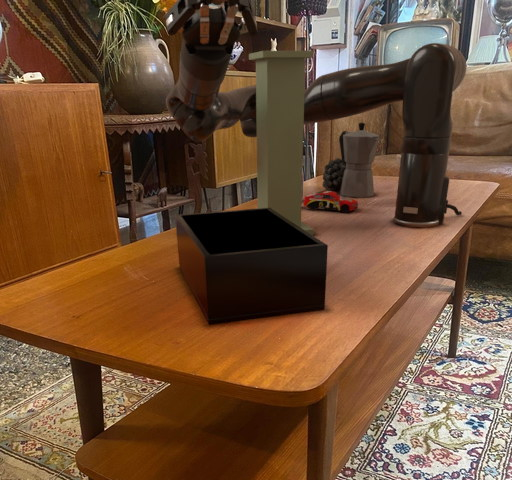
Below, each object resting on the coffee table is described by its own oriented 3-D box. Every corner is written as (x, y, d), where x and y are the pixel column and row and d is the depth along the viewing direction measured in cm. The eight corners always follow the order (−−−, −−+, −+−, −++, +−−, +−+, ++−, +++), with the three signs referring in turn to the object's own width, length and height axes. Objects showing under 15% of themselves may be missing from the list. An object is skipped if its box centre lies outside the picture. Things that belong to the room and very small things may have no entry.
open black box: (179, 268, 85) (175, 214, 81) (270, 259, 88) (270, 207, 85) (208, 325, 64) (204, 257, 60) (324, 310, 68) (328, 245, 64)
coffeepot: (386, 196, 136) (393, 123, 128) (357, 200, 132) (363, 124, 125) (350, 188, 149) (355, 120, 141) (323, 191, 145) (326, 121, 137)
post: (245, 226, 109) (242, 54, 95) (294, 222, 112) (298, 54, 98) (261, 240, 100) (259, 50, 86) (314, 235, 102) (320, 50, 88)
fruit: (335, 160, 134) (352, 152, 146) (307, 169, 139) (325, 161, 151) (344, 193, 137) (359, 182, 149) (315, 200, 141) (333, 190, 153)
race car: (360, 209, 123) (362, 192, 122) (354, 214, 119) (355, 196, 117) (309, 204, 129) (309, 188, 127) (300, 209, 124) (301, 192, 122)
